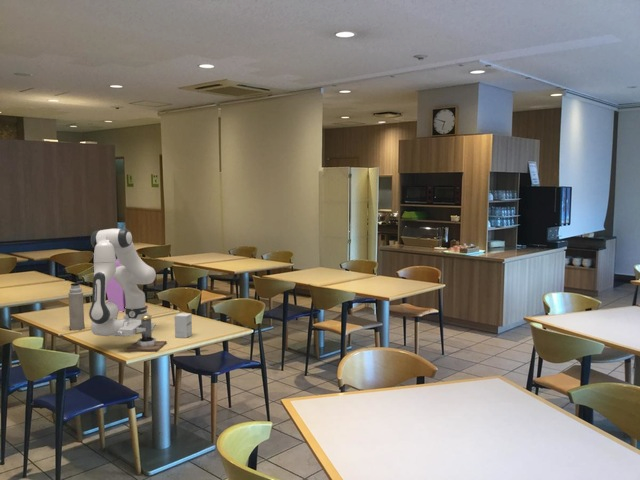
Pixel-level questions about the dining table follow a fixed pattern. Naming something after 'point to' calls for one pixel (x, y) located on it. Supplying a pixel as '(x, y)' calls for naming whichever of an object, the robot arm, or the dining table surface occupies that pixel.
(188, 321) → the supplement box
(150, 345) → the steel collar
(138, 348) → the mount plate
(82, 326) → the thermos bottle
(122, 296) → the container
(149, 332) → the dark grey canister
